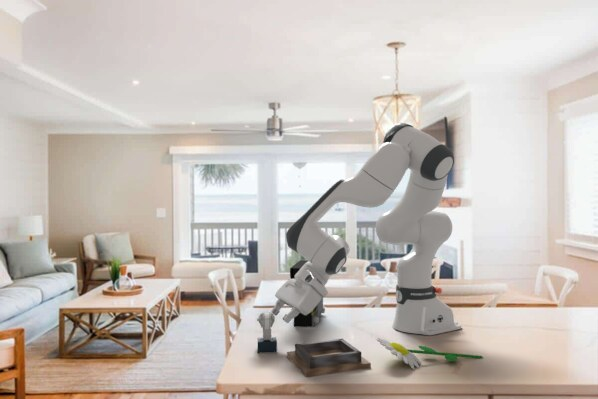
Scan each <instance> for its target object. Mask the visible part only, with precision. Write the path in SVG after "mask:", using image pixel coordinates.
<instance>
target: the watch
mask: <svg viewBox="0 0 598 399" xmlns="http://www.w3.org/2000/svg"><path fill="white" fill-rule="evenodd" d="M275 319H276V316H275V315H274V314H273V313H272V312H271V311H264V312H261V313H259V315H258V317H257V318H256V321H257V322H258V323H259V325H260V328H261V329H262V337H257V354H264V353H265V354H267V353H271V354H272V353H277V352H278V340H277V336H272V328H273V325H274V323H275Z"/></svg>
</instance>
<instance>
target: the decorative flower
mask: <svg viewBox="0 0 598 399" xmlns="http://www.w3.org/2000/svg"><path fill="white" fill-rule="evenodd" d="M376 341H377V342H379V344H380V346H382V347H384V348H385V349H386V350H388V351H390V353H391V354H392V356H393V355H394V356H395V357H397V359H398V360H399V361H403V362H404V364H406V365H409V366H410V368H411V369H412V370H414V369H415V367H416V368H419V367H420V366H419V365H422V363H421V360H420V359H419V358H418V357H417V356H416V355H415V354H425V355H435V356H444V359H445V360H446V361H449V362H455V361H458V357H459V358H468V359H484V356H483V355H477V354H476V355H475V354H468V353H467V354H466V353H453V352H443V351H442V352H441V351H437V350H435V349H434V348H431V347H428V346H425V345H418V348H419V349H420V350H417V349H407V348H406V347H405V346H403V345H402V344H400V343H397V342H390V341H388V340H386V339H383V338H380V337H377V339H376Z"/></svg>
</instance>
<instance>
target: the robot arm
mask: <svg viewBox="0 0 598 399" xmlns="http://www.w3.org/2000/svg"><path fill="white" fill-rule="evenodd" d="M384 135H385V136H384V139H383V141H382V143H381V145H380V146H379V147H378V148H377V149H376V150H374V152H373V153H372V154H371V156H370V157H369V158H368V159H367V160H366V161H365V163H364V164H363V165H362V167H361V169H360V170H359V171H358V172H357V173H356V174H354V175H353V176H351V177H349V178H344V177H343V178H341V179H339V180H338V181H336V182H335V183H333V185H332V186H330V188H329V189H328V190H326V191H325V192H324V193H323V194H322V195H321V197H319V198H318V200H316V202H315V203H313V205H312V206H310V208H309V209H307V211H305V213H304V214H303V215H301V216H300V217H299V219H297V220H296V221H294V223H292V225H290V226H289V228H288V229H287V232H286V233H285V237H286V239H285V240H286V243H287V246H288V248H289V249H291V250H292V251H293V252H295V253H297V254H299V255H301V256H302V257H303V258H304V260H308V262H306V263H305V264H304V265H303V266H302V267H301V269H300V270H299V271H298V272H297V273H296V275H295V276H294V277H295V278H294V279H291V278H289V280H288V279H287V281H285V282H284V283H283V284H282V285H281V286H280V288H278V289H277V291H276V292H275V293H274V296H275V298H276V299H277V301H276V302H275V304H274V305H273V308H272V309H271V310H270V312H271V313H272V314H274V316H275V317H276V316H278V314H279V313H280V312H281V311H280V310H281V308H283V307H284V306H285V305H286V306H288V307H289V308H291V310H290V311H289V312H288V313H285V315H284V316H283V317H282V320H283V321H284V322H285V323H286V324H289V323H290V322H291V321H292V320H294V317H296V316H298V314H299V313H302V314H304V315H307V314H309V313H310V312H311V311H312V310H313V309H314V308H315V307H316V306H317V304H318V303H319V302H320V300H321V298H322V297H323V298H325V297H326V296H328V293H329V292H328V290H327V288H326V285H327V283H328V282H329V280H330V278H331V277H332V276H334V275H337V274H338V273H339V271H341V269H342V268H343V266H344V265H345V264H346V263H347V256H348V255H349V253H350V250H351V249H350V248H351V247H350V245H349V243H348V242H347V240H345V238H342V236H339V235H338V234H337V235H336V234H332V235H330V234H328V233H327V232H326V231H325V230H323V229H322V228H320V227H319V226H318V222H319V221H320V220H321V219H322V218H323V217H324V216H325V215H326V214H327V213H328V212H329V211H330V210H331V209H332V208H333V207H334V206H335V205H337V204H338V203H347V204H350V205H354V206H358V207H363V208H368V209H369V208H377V207H380V206H381V205H384V204H385V203H386V202H387V200H388V199H389V198H390V197H391V196H392V194H393V193H394V192H395V190H396V189H397V187H398V186H399V185H400V183H401V181H402V179H403V178H404V176H405V174H406V172H407V170H408V169H409V170H410V174H409V178H408V182H407V185H406V188H405V191H404V193H403V195H402V197H401V199H399V201H398V202H397V203H396V204H395V205H394V206H393V207H392V208H391V209H389V210H388V211H386V212H385V213H382V214H380V216H379V217H378V218H377V220H376V222H375V233H376V236H377V238H378V240H380V242H382V243H384V244H389V245H396V246H397V245H399V246H402V245H412V248H411V250H410V251H409V253H407V254H405V255H403V256H402V257H401V258H400V259H399V261H397V265H396V266H397V267H396V268H397V272H396V273H397V274H396V276H397V283H396V286H395V297H396V298H395V299H396V308H395V316H394V321H393V323H392V327H393V329H394V330H396V331H399V332H403V333H407V334H408V333H409V334H417V335H418V334H419V335H424V336H434V335H438V334H443V333H446V332H447V333H448V332H452V331H457V330H461V329H462V325H461V323H459V322H458V321H456V320H455V317H454V313H453V310H452V308H451V306H449V305H447V304H446V303H445V302H444V301H442V300H441V299H440V298H438V297H437V294H439V295H441V294H442V293H443V288H441V287H438V286H436V287H435V286H433V285H432V271H433V263H434V262H433V261H434V259H435V257H436V253H437V252H438V251H439V249H440V247H441V246H443V244H444V243H445V242H446V241H448V240H449V238H450V237H451V236H452V233H453V223H452V220H451V219H450V217H449V216H448V214H446V213H445V212H440V211H434V210H435V209H436V208H438V206H439V204H441V199H442V197H443V194H444V190H445V187H446V184H447V180H448V176H449V174H450V172H451V171H452V169H453V167H454V164H455V157H454V152H453V151H452V150H451V149H450V148H449V147H448V146H447V145H445V144H442V142H440V141H439V140H437V138H435V137H434V136H432V135H431V134H429V133H426V132H424V131H422V130H420V129H418V128H415V127H414V125H411V124H409V123H405V122H398V123H396V124H394V125H392V126H391V127H390V128H389V129H387V132H386V133H385V134H384Z"/></svg>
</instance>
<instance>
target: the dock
mask: <svg viewBox="0 0 598 399" xmlns="http://www.w3.org/2000/svg"><path fill="white" fill-rule="evenodd" d="M286 356H287V357H288V359H289V360H290V361H291V362H292V363H293V365H295V366H296V367H297V368H298V370H299V371H300V372H301V373H302V374H303V375H304V376H305V378H307V377H314V376H321V375H329V373H330V374H335V373H336V372H337V373H342V372H350V371H357V370H365V369H369V368H371V367H372V364H371V361H369V360H368V359H366V358H364V357H363V356H362V351H360V350H359V349H358V348H357V347H355V346H353V345H352V344H350V343H349V342H348V341H347V340H345V339H344V338H335V339H326V340H320V341H319V340H318V341H311V342H304V343H295V345H294V350H291V351H286Z"/></svg>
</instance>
